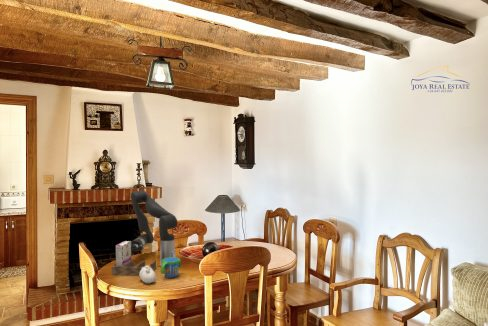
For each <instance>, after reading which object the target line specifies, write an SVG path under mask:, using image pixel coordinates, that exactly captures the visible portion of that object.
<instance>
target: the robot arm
mask: <svg viewBox="0 0 488 326" xmlns="http://www.w3.org/2000/svg"><path fill="white" fill-rule="evenodd" d="M130 200H131V203H132V207H133V211H134V213H135V216H136V218H137V223H138V229H139V231H140V232H143V234H140V235H139V236H138V237H137V238H135V239H134V240H132V241H131V251H133V253H136V252H138V251H140V252H141V251H143V250H144V248H145V246H146V245H148V244H152V243H153V242H154V239H155V238H154V235H153V233H152V231H151V228H150V226H149V220H148V218H147V216H146V215H145V214H144V212H143V211H142V210H141V208H140V206H139V204H142V203H145V207H144V208H145V211H146V212H147V213H148V214H149V215H150V216H151V217H154V218H156V219H158V228H159V229H158V230H159V231H158V232H159V238H160V239H159V240H160V241H159V243H160V244H159V245H160V247H159V249H160V250H159V251H160V252H159V255H160V256H159V257H160V258H159V259H160V260H159V261H160V262H159V267H162V264H163V263H162V260H163V259H165V258H170V257H175V258H176V250H175V235H174V234H172V233H169V231H168V230H171V229H175V228H177V226H178V223H179V222H178V218H177V217H176V216H175V215H174V214H173V213H171V212H170V211H168V210H166V209H165V208H164V207H162V206H161V205H160V204H159V203H158V202H157V201H155V199H153V198H152V196H150V195H149V194H148V193H147V191H146V190H145V189H144V190H143V189H140V190H135V191H132V192H131V194H130ZM144 233H145V234H144Z"/></svg>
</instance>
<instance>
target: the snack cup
mask: <svg viewBox="0 0 488 326" xmlns="http://www.w3.org/2000/svg"><path fill="white" fill-rule="evenodd" d="M162 263H163V264H162V267H161V266H160V267H161V268H160V273H161V274H163V275H164V277H165V278H167V279H168V278H169V279H170V278H171V279H173V278H176V277H178V275H179V269H180V268H182V262H181V259H180V258H179V257H176V256H175V257H170V258H165V259H163V260H162Z"/></svg>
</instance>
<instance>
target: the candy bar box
mask: <svg viewBox="0 0 488 326" xmlns="http://www.w3.org/2000/svg"><path fill="white" fill-rule="evenodd" d="M131 242H132V241H131V240H130V241H129V240H128V241H127V240H125V241H122V242H120V243H118V244H116V245H115V264H116V266H123V267H124V266H125V265H127V264H128V263H130V262H131V261H132V250H131Z"/></svg>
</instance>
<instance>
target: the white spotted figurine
mask: <svg viewBox="0 0 488 326" xmlns="http://www.w3.org/2000/svg"><path fill="white" fill-rule="evenodd" d="M138 277H139V278H140V280H142V282H143V283H144V284H151V283H155V282H156V281H157V279H156V272H155V270H154V271H153V269H152V268H151V267H150V264H149V265H146V264H145V267H142V269H141V271H140V273H139V276H138Z"/></svg>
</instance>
